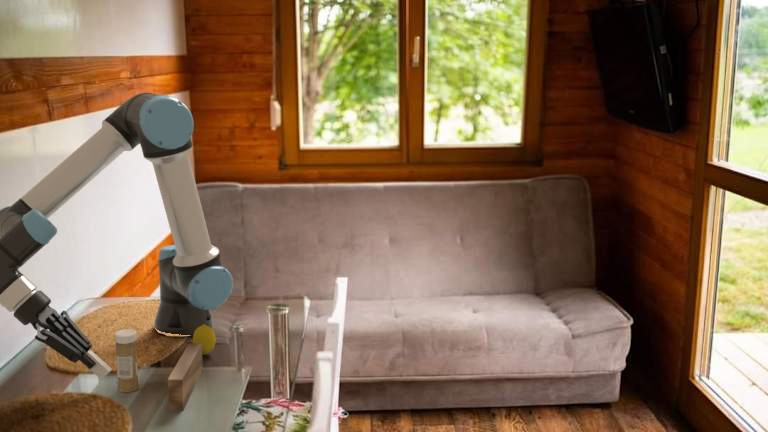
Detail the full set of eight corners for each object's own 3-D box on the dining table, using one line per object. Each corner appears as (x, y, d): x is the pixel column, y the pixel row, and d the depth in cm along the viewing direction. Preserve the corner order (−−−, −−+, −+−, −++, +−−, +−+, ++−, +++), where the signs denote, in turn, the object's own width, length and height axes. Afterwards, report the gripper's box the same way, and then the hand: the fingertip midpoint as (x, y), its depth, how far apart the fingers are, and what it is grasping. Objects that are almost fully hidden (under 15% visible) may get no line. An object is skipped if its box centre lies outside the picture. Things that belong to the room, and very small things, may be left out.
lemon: (205, 348, 198) (204, 319, 196) (220, 354, 195) (220, 324, 193) (188, 355, 193) (187, 325, 191) (203, 361, 190) (202, 330, 188)
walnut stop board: (168, 410, 165) (167, 379, 163) (189, 371, 184) (189, 343, 183) (183, 410, 165) (182, 379, 163) (202, 371, 184) (201, 343, 183)
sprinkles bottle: (143, 386, 176) (140, 330, 173) (130, 394, 171) (127, 337, 168) (125, 383, 177) (123, 327, 174) (113, 391, 173) (110, 334, 170)
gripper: (26, 302, 176) (104, 373, 180) (-1, 323, 163) (84, 398, 167) (48, 280, 175) (127, 352, 179) (23, 299, 162) (108, 375, 166)
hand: (106, 374), depth 173 cm, fingers closed
